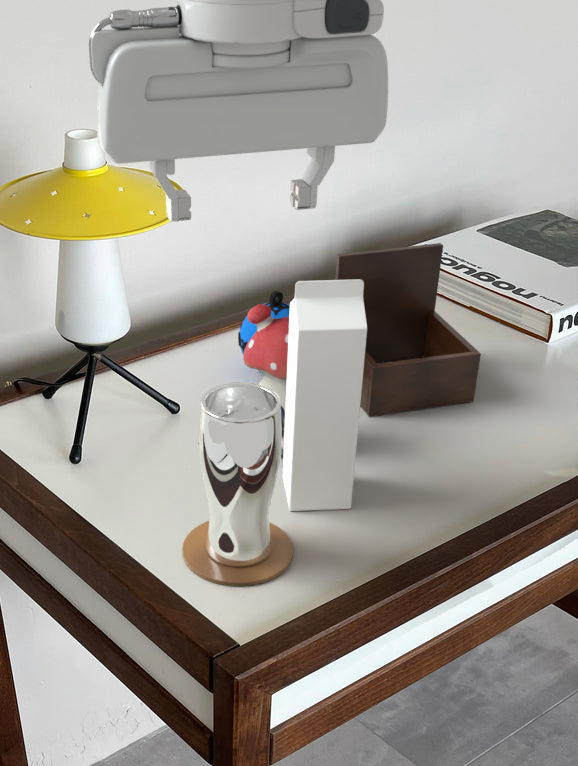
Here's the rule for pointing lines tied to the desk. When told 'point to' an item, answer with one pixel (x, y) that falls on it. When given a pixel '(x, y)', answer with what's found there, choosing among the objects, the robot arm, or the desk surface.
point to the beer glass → (239, 469)
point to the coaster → (236, 576)
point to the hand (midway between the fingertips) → (241, 212)
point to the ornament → (277, 312)
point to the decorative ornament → (269, 353)
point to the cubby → (408, 332)
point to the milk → (323, 393)
